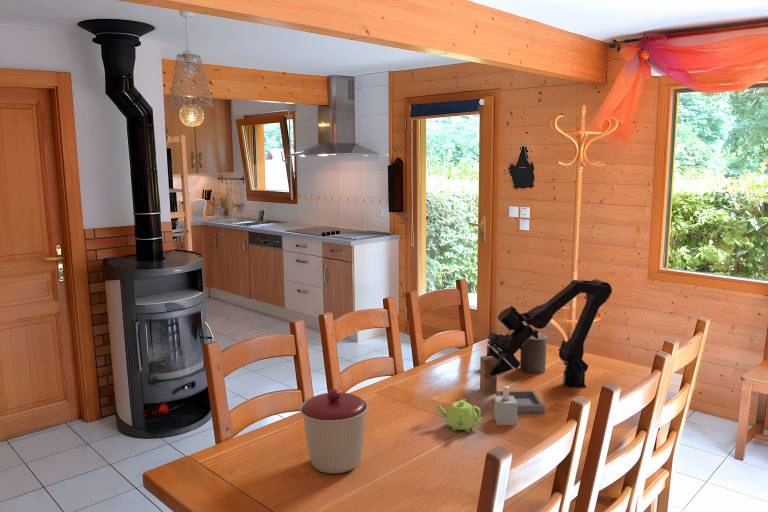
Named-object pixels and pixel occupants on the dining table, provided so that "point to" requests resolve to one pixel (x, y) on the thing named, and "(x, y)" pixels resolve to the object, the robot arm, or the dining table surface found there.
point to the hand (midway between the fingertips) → (486, 370)
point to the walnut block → (488, 374)
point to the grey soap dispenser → (505, 408)
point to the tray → (526, 401)
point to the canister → (334, 430)
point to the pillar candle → (534, 355)
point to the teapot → (461, 415)
